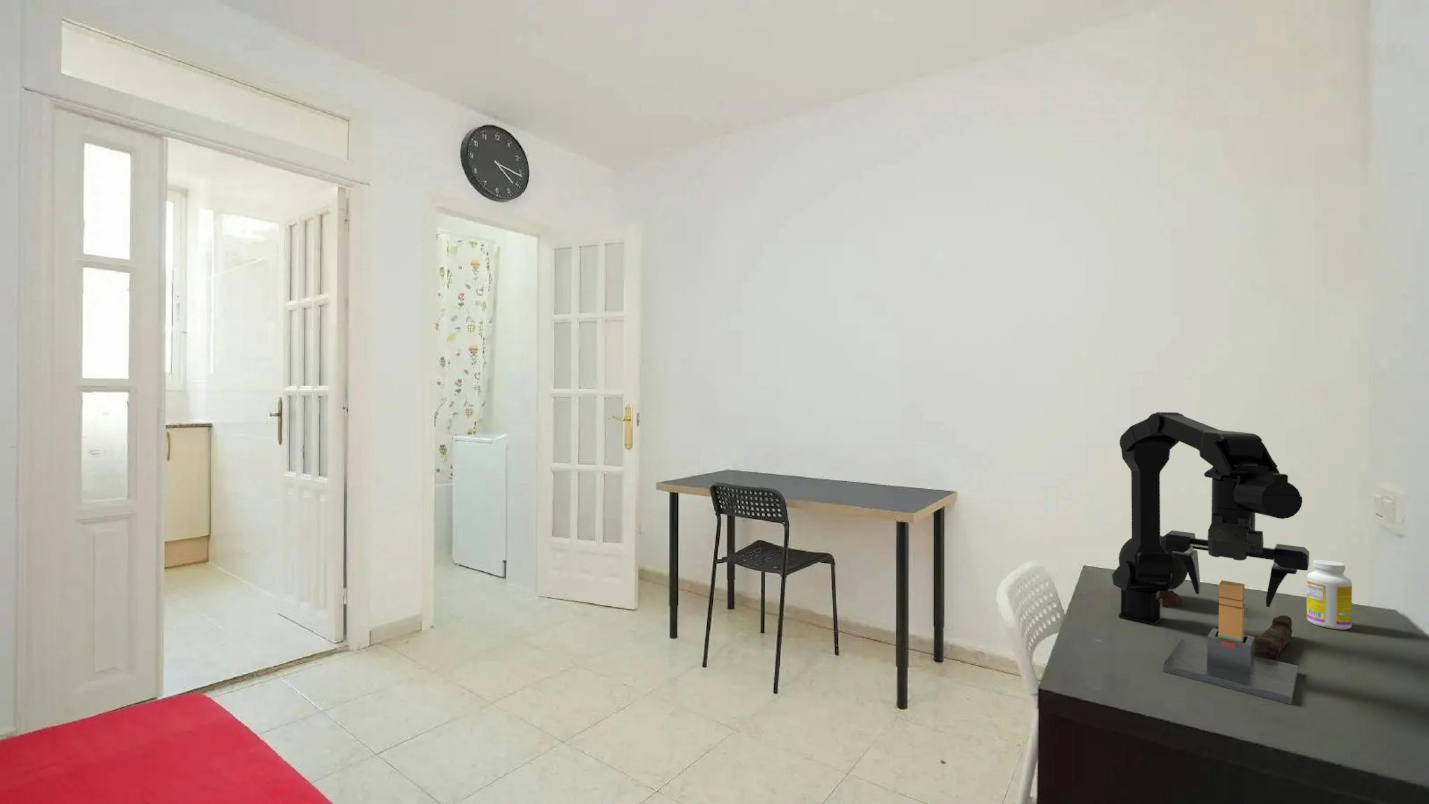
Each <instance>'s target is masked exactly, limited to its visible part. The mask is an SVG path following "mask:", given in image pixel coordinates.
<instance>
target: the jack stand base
mask: <svg viewBox="0 0 1429 804" xmlns="http://www.w3.org/2000/svg"><path fill="white" fill-rule="evenodd" d="M1218 633H1219V628H1214V627H1212V629H1211V630H1210V632H1209V634H1208V635H1207V641H1206V642H1207V644H1204V643H1199V642H1195V641H1191V640H1187V639H1180V640H1179V642H1178V644H1176V646H1175V647H1174V649H1173V650H1172V651H1171V652H1170V655H1168V657H1167V659H1166V660H1165V661H1164V663H1163V665H1162V666H1163V667H1162V668H1163V669H1162V670H1163V672H1164V673H1169V674H1171V675H1175V676H1181V677H1183V678H1187V679H1191V680H1195V681H1199V682H1202V683H1207V684H1211V685H1213V686H1218V687H1222V688H1226V689H1229V690H1233V691H1236V692H1237V691H1238V692H1241V693H1245V694H1249V695H1253V696H1256V697H1261V698H1263V699H1268V700H1271V701H1275V700H1276V701H1275V702H1280V703H1283V702H1285V703H1284V704H1286V703H1288V705H1290V704H1291V705H1292V703H1293V700H1294V698H1293V697H1294V693H1295V690H1296V684H1297V683H1296V682H1297V679H1298V674H1299V665H1297V664H1292V663H1287V662H1282V661H1279V660H1276V661H1275V660H1270V659H1266V658H1262V657H1257V656H1254V646H1255V636H1252V635H1247V634H1244V641H1243V643H1242V642H1237V641H1232V640H1228V639H1223V638H1219V637H1218Z"/></svg>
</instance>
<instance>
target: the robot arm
mask: <svg viewBox="0 0 1429 804" xmlns="http://www.w3.org/2000/svg"><path fill="white" fill-rule="evenodd" d="M1179 442H1180V443H1183V444H1184V445H1186V446H1189V447H1191V448H1194V449H1196V450H1197V451H1198V452H1199V457H1200V458H1201V459H1202V460H1203V461H1205V462H1206V463H1208V464H1209V465H1211V466H1212V467H1211V468H1210V469H1208V470H1206V471H1205V472H1204V473H1203V476H1204V477H1205V478H1208V479H1209V478H1210V479H1211V520H1210V521H1211V522H1210V525H1209V528H1208V530H1207V531H1208V532H1207V539H1204V538H1197V537H1196V533H1194V532H1187V531H1180V530H1170V531H1169V532H1167V533H1166V534H1165V535H1162V536H1163V546H1162V545H1161V543H1160V536H1161V480H1160V479H1161V477H1160V476H1161V472H1162V470H1163V469H1164V468H1165V466H1166V465H1167V464H1168V462H1169V460H1170V455H1171V450H1172V449H1173V448H1174V447H1175V446H1176V445H1177V444H1178V443H1179ZM1119 446H1120V449H1121V450H1120V451H1121V458H1122V460H1123V461H1124V463H1125V464H1126V465H1127V467H1128V468H1129V470H1130V473H1131V475H1130V476H1131V477H1130V478H1131V479H1130V480H1131V483H1130V485H1131V486H1130V487H1131V501H1130V502H1131V538H1132V540H1131V541H1130V543H1129V544H1128V545H1127V547H1126V548H1125V550H1124V551H1123V556H1122V563H1121V564H1120V565H1118V566H1117V568H1116V569H1115V571H1113V572H1112V574H1111V576H1112V577H1111V578H1112V583H1113V585H1114V586H1116V587H1117V588H1120V612H1119V613H1118V617H1119V618H1120V619H1121V618H1122V619H1127V620H1131V621H1134V622H1140V623H1144V624H1149V625H1153V626H1154V625H1156V624H1158V622H1159V621H1160V620H1162V618H1163V607H1162V606H1163V599H1162V598H1159V592H1168V590H1169V586H1170V582H1171V579H1172V575H1173V570H1172V559H1173V557H1172V555H1173V556H1177V557H1179V558H1180V560H1181V561H1182V562H1183V564H1184V566H1185V568H1186V569H1187V572H1188V573H1187V575H1188V576H1189V579H1190V582H1191V585H1192V587H1193V589H1194V593H1195V594H1196V595H1199V594H1201V593H1200V592H1201V577H1200V576H1201V575H1200V567H1199V566H1200V565H1199V555H1198V554H1199V553H1198V551H1199V550H1200V551H1206V552H1208V555H1209V556H1211V557H1213V558H1220V557H1221V558H1228V559H1233V560H1234V561H1245V560H1247V557H1250V558H1254V559H1264V560H1270V561H1273V565H1271V568H1270V569H1271V570H1270V576H1269V581H1268V587H1267V592H1266V596H1265V606H1266V607H1267V608H1270V607H1271V604H1272V602H1273V600H1274V597H1275V595H1276V593H1277V591H1278V588H1279V586H1281V585H1280V584H1282V582H1283V580H1284V579H1285V578H1286V576H1287V575H1289V574H1290V575H1296V574H1297V573H1298V571H1308V570H1309V568H1310V551H1309V550H1308V549H1307V548H1306V547H1305V546H1297V545H1289V544H1282V543H1281V544H1280V543H1276V545H1275V547H1274V548H1271V547H1264V531H1263V530H1262V531H1261V530H1256V514H1258V515H1259V514H1260V515H1262V516H1267V517H1271V518H1274V519H1275V518H1276V519H1281V520H1284V519H1289V518H1292V517H1294V516H1295V515H1297V513H1298V512H1300V510H1301V508H1302V505H1303V497H1302V495H1301V493H1300V491H1299V490H1298V488H1297V487H1296V486H1295V485H1294V484H1292V483H1290V482H1289V476H1288V474H1287V473H1280V470H1279V469H1278V465H1277V463H1276V462H1275V461H1274V459H1273V458H1272V456H1271V455H1270V453H1269V451H1268V449H1267V447H1266V445H1265V444H1264V441H1263V439H1262V438H1261V436H1259V435H1258V434H1256V433H1250V432H1245V431H1233V430H1224V429H1223V430H1221V429H1218V428H1216V427H1214V426H1211V425H1208V424H1205V423H1202V422H1200V421H1198V420H1194V419H1192V418H1189V417H1187V416H1185V415H1184V414H1183V413H1179V412H1176V411H1175V412H1172V411H1171V412H1170V411H1169V412H1167V411H1166V412H1165V411H1156V412H1155V413H1151V414H1150V415H1149V416H1148V417H1147V418H1145V419H1144V420H1142V421H1139V422H1137V423H1135V424H1132V425H1131V426H1130V427H1128V429H1127V430H1125V431H1124V432H1123V434H1122V435H1121V436H1120V439H1119ZM1165 550H1168V551H1173V552H1172V555H1171V554H1170V553H1167V552H1166V551H1165Z"/></svg>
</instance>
